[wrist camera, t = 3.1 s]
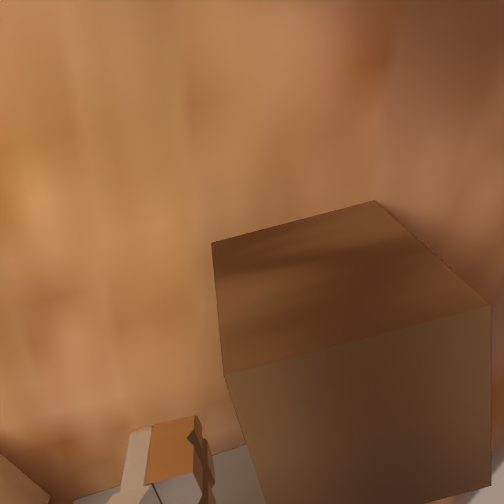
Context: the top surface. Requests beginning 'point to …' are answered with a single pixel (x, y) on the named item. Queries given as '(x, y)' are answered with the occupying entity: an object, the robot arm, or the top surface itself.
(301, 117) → the top surface
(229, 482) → the base block
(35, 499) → the beech block
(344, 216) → the walnut block
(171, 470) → the robot arm
